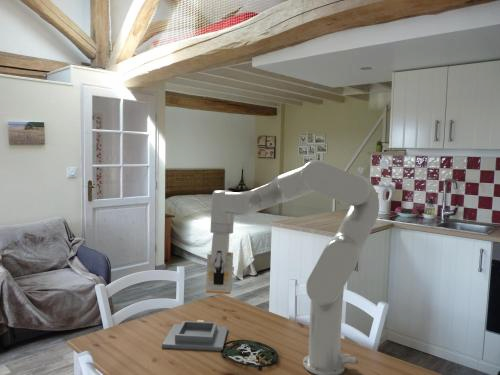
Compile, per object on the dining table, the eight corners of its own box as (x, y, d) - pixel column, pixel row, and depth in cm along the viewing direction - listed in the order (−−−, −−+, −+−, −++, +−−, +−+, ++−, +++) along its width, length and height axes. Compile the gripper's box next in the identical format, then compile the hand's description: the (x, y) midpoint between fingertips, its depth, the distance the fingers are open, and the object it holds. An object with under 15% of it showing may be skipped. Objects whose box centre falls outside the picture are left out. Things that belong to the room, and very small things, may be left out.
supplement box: (232, 290, 136) (234, 252, 135) (230, 294, 131) (232, 255, 130) (208, 288, 137) (209, 250, 136) (205, 292, 132) (207, 253, 131)
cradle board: (227, 329, 148) (227, 320, 148) (222, 351, 131) (222, 340, 131) (174, 327, 149) (174, 317, 149) (161, 347, 132) (162, 337, 132)
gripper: (213, 223, 141) (211, 274, 142) (206, 231, 124) (204, 289, 125) (235, 224, 141) (232, 275, 142) (231, 232, 124) (228, 290, 125)
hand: (219, 281), depth 134 cm, fingers closed on supplement box, 5 cm apart
